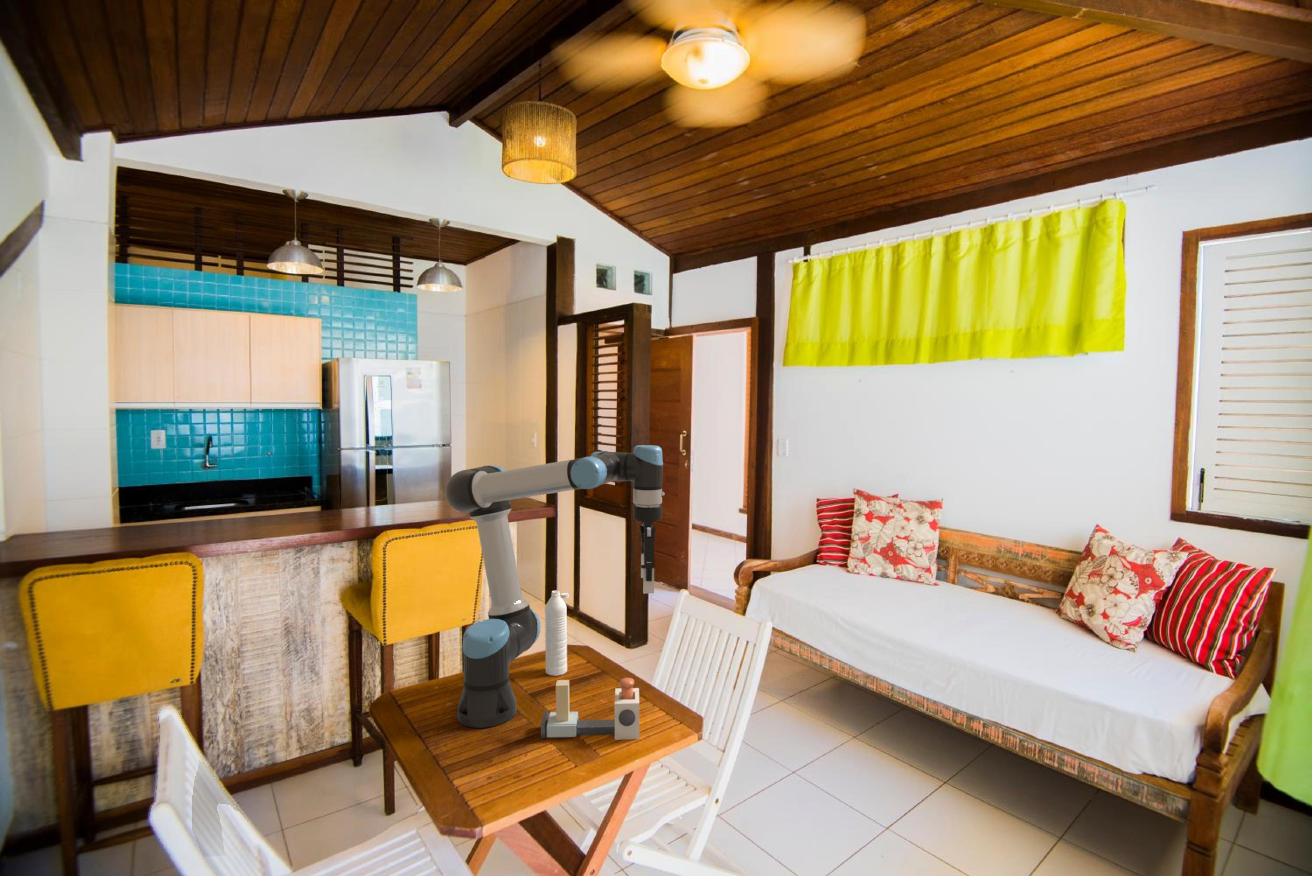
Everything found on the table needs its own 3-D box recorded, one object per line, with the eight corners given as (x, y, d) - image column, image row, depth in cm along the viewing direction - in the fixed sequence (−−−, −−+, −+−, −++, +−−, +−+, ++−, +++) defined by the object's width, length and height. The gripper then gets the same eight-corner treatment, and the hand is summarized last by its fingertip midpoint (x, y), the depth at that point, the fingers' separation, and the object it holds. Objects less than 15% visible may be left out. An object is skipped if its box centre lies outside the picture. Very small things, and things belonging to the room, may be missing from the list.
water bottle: (541, 671, 188) (540, 591, 187) (558, 665, 193) (557, 586, 191) (559, 680, 182) (558, 597, 181) (576, 673, 187) (575, 592, 186)
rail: (541, 739, 151) (540, 723, 150) (544, 726, 157) (544, 710, 156) (618, 737, 151) (618, 721, 151) (619, 724, 157) (619, 709, 157)
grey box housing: (614, 740, 150) (614, 704, 149) (615, 722, 158) (615, 688, 158) (639, 740, 150) (639, 704, 150) (638, 722, 159) (638, 688, 158)
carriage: (547, 737, 150) (546, 689, 150) (550, 722, 157) (550, 676, 156) (575, 736, 151) (575, 688, 150) (578, 722, 157) (577, 676, 157)
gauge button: (619, 709, 152) (619, 684, 152) (620, 702, 156) (619, 677, 155) (634, 709, 152) (634, 684, 152) (634, 702, 156) (634, 677, 156)
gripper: (666, 513, 148) (665, 600, 150) (658, 497, 173) (658, 571, 174) (634, 513, 148) (634, 600, 149) (632, 497, 173) (631, 571, 174)
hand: (647, 585), depth 162 cm, fingers open, 13 cm apart
